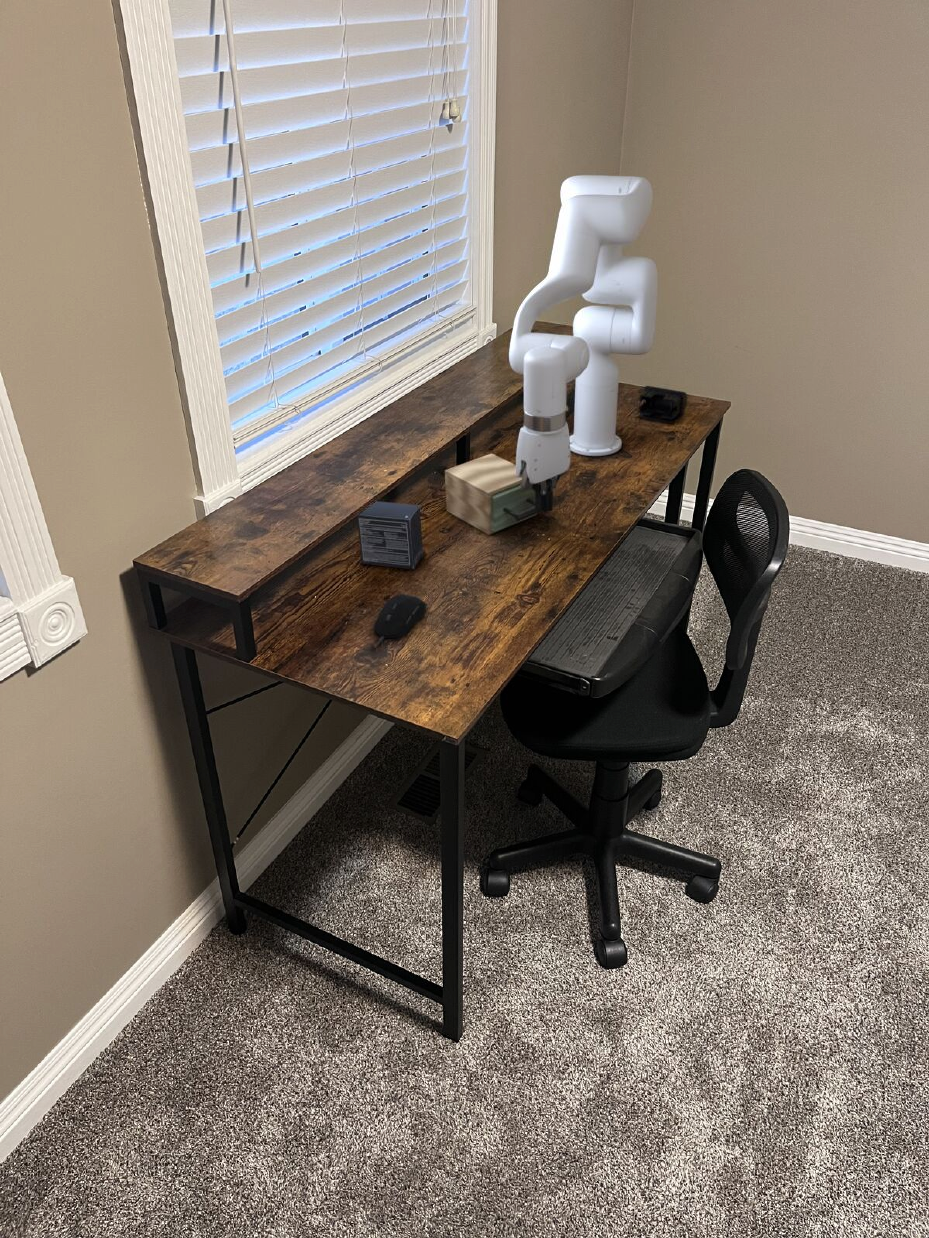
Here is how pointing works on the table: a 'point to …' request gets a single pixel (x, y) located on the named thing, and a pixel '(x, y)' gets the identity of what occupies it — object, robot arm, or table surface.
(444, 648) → the table surface
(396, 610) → the gaming mouse
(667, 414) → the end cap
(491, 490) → the cabinet
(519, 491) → the drawer
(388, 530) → the small box
